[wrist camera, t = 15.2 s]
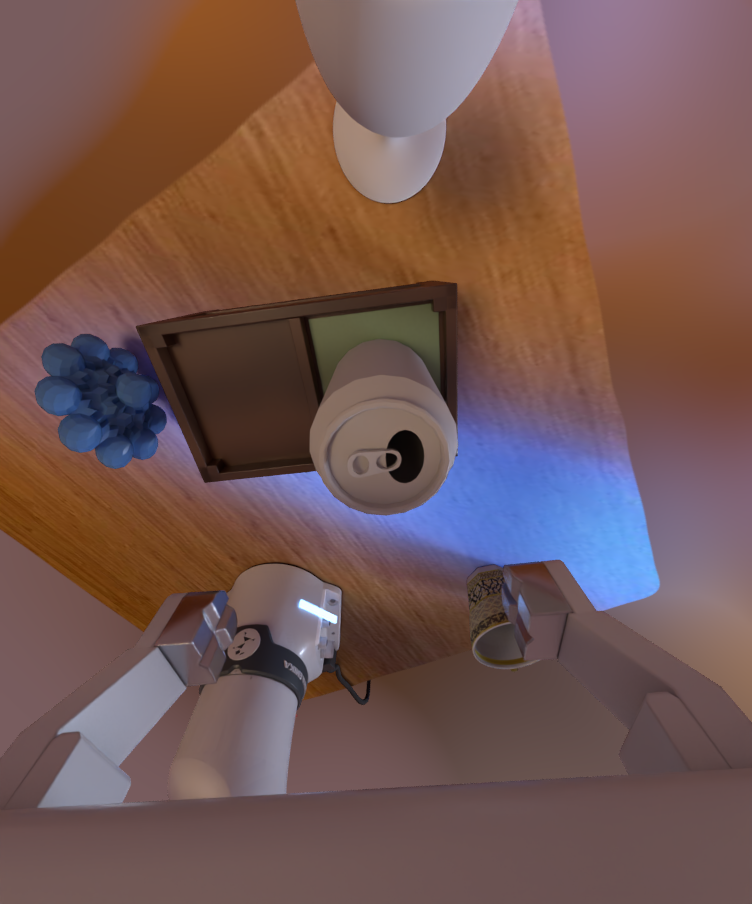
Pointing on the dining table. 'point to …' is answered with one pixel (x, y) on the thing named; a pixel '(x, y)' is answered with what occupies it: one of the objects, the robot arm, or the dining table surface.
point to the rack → (286, 369)
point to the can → (383, 431)
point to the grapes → (101, 400)
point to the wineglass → (399, 80)
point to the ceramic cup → (492, 621)
